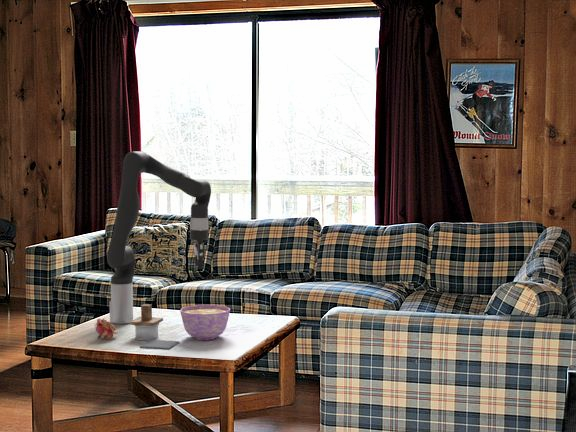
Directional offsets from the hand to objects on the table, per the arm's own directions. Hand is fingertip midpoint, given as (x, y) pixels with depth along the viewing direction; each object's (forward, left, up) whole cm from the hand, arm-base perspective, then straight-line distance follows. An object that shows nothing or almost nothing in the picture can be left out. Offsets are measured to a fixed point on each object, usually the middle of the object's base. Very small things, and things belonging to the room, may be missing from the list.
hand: (199, 267), depth 348 cm
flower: (-31, -23, -27) cm, 47 cm away
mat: (-6, -29, -26) cm, 40 cm away
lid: (-16, -18, -20) cm, 32 cm away
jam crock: (-16, -18, -26) cm, 36 cm away
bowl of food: (+7, -13, -27) cm, 31 cm away
